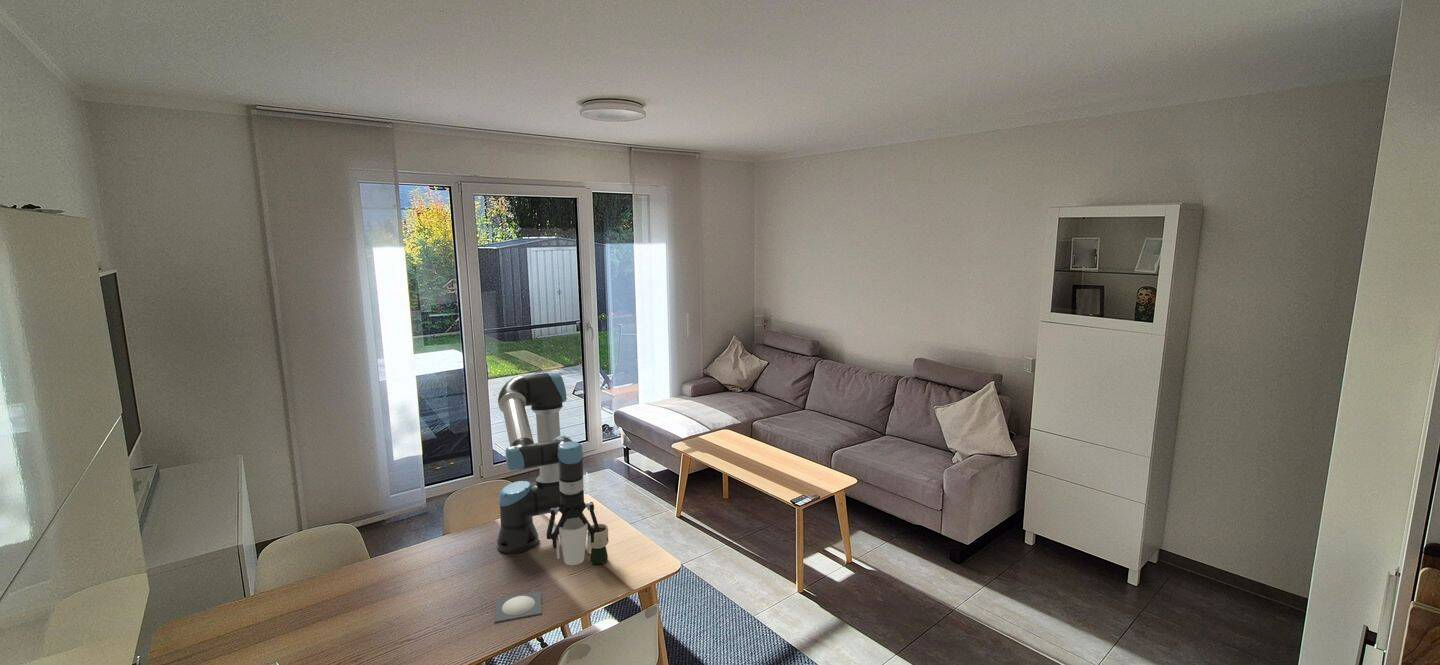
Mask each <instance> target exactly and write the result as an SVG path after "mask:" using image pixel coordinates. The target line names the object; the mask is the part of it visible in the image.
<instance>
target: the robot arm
mask: <svg viewBox="0 0 1440 665" xmlns="http://www.w3.org/2000/svg"><path fill="white" fill-rule="evenodd" d="M566 401H567V390H566V386H565V382H564V380H563V377H562V375H561V374H560V373H558V372H544V373H537V374H536V373H533V374H526V375H518V376H515V377H513V378H511V379H509V380H508V381H507V382H506V383H505V384H504V385H503V386H502V388H501V390H500V392H499V393H498V398H497V403H498V407H499V410H500V411H501V412H502V414H503V417H504V423H505V427H506V433H507V437H508V442H509V446H508V447H507V448H506V449H505V462H506V468H507V469H508V470H510V471H514V470H515V471H517V470H526V469H530V468H531V469H532V468H536V467H539V475H538V476H537V477H536V478H535V481H536V482H535V483H536V484H532V483H531V482H530V481H528V480H518V481H514V482H510V483H509V484H507V485H505V486H504V487H503V488H502V489H501V490H500V491H499V495H498V498H499V499H498V505H499V515H500V517H499V518H500V528H499V532H498V535H497V539H496V548H497V550H499V552H502V553H504V554H519V553H524V552H528V551H529V550H531V549H533V548H534V547H536V546H537V545H538V543H539V533H538V531H537V528H536V526H535V524H534V518H533V517H536V516H543V515H547V514H550V516H549V521H548V526H547V530H546V534H545V535H546V539H547V540H552V549H553V550H555V549H556V550H555V551H556V559H557V560H559V559H560V556H561V555H560V536H559V527H561V528H562V527H563V525H564V523H565V522H566V520H567V518H568V519H571V518H578V517H579V518H580V519H581V520H582V522H583V523H584V525H585V524H586V523H588V530H587V551H588V554H590V555H591V549H592V548H591V543H594V533H595V532H599V531H600V529H599V526H598V524H599V523H598V520H597V516H596V514H595V504H594V502H593V501H590V502H589V503H585V491H584V485H585V484H584V452H583V445H582V444H581V443H580V442H577V441H573V440H572V439H571V438H570V437H569V436H566V435H561V425H560V424H561V423H560V411H561V410H562V408H563V406H564V404H563V403H565V402H566ZM528 406H529V407H530V408H531V411H532V412H533V413H534V414H535V420H536V434H537V435H536V436H537V442H534V437H533V433H532V430H531V426H530V420H529V418H528V415H527V410H526V407H528ZM586 508H587V511H589V513H590V517H591V519H592V523H593V525H594V526H595V527H593V528H592V525H591V523H590V521H589V520H588V518H587V517H586V515H585V514H584V511H585V509H586ZM558 513H561V516H560V519H559V520H558V523H557V524H556V526H555V528H554V525H555V520H556V516H557V515H558ZM553 528H554V531H553Z"/></svg>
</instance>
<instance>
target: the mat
mask: <svg viewBox="0 0 1440 665" xmlns="http://www.w3.org/2000/svg"><path fill="white" fill-rule="evenodd" d="M494 607H495V610H494V623H495V624H496V623H500V622H507V621H512V620H517V619H523V618H527V617H532V616H539V615H542V614H543V609H542V608H543V607H542V593H541V590H540V591H538V590H537V591H533V592H528V593H521V594H516V595H509V596H505V597H499V598H495V606H494Z"/></svg>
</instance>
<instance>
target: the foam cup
mask: <svg viewBox="0 0 1440 665" xmlns="http://www.w3.org/2000/svg"><path fill="white" fill-rule="evenodd" d="M587 532H588V523H586V524H585V525H584V523H583V522H582V520H581V519H580V518H579V517H578V518H571V519H568V518H567V520H566V522H565V523H564V525H563V527H562V528H561V527H559V535H558V537H559V542H560V546H561V551H562V558H563V562H564V564H566V565H567V566H576V565H580V564H581V563H583V562H584V560H585V552H586V545H587V544H586V543H587V537H588V535H587Z"/></svg>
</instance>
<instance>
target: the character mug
mask: <svg viewBox="0 0 1440 665" xmlns="http://www.w3.org/2000/svg"><path fill="white" fill-rule="evenodd" d="M591 526H592V528H593V527H595V526H594V524H592V525H591ZM598 526H599V529H600V531H599V532H595V533H594V543H591V554H590V562H591V564H594V565H597V564H598V565H599V564H605V563H606V562H608V560H609V558H608V557H609V556H608V551H607V546H608V544H609V526H608V525H607V524H605V523H598Z"/></svg>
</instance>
